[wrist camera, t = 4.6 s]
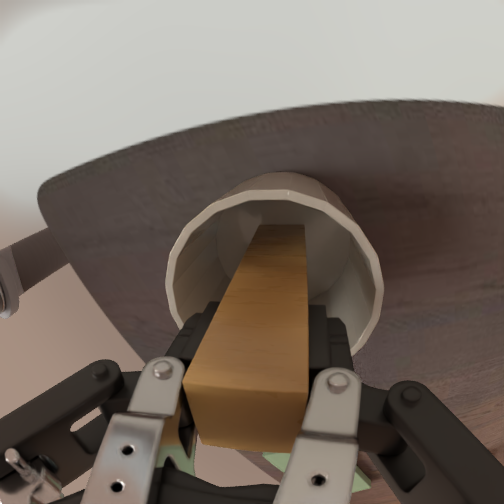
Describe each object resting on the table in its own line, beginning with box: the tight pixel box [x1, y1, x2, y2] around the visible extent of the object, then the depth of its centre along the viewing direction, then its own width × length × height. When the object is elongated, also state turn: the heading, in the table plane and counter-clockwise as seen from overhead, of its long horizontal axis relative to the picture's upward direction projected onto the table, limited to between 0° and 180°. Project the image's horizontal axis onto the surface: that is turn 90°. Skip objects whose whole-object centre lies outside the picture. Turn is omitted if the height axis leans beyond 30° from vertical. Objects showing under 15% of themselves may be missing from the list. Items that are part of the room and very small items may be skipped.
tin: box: [165, 172, 384, 356], centre depth 16 cm, size 10×10×8 cm
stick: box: [182, 225, 309, 453], centre depth 13 cm, size 3×3×14 cm
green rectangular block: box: [263, 452, 371, 493], centre depth 29 cm, size 18×8×2 cm, turn 33°
